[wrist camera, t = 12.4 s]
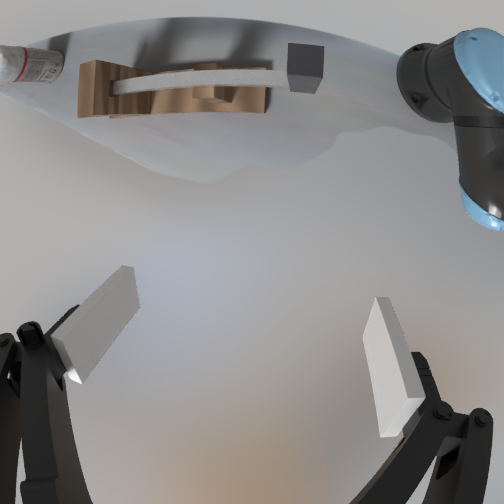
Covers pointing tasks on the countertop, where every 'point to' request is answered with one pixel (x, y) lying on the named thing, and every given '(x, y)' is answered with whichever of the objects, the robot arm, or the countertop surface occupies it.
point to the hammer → (240, 75)
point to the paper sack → (29, 64)
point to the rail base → (160, 94)
